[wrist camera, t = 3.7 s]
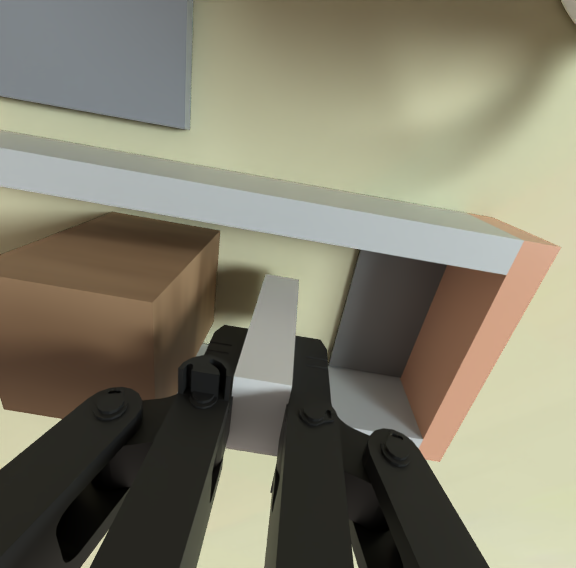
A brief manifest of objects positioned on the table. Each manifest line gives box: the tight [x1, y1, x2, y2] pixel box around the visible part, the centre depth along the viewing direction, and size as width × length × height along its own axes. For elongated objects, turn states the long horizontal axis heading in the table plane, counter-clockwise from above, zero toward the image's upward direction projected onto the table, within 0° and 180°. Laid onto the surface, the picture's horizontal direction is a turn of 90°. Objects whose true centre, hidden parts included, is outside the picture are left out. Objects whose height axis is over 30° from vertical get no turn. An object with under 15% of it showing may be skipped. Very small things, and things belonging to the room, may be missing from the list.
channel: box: [0, 130, 561, 462], centre depth 14 cm, size 10×21×4 cm, turn 81°
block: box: [0, 212, 220, 419], centre depth 12 cm, size 5×5×7 cm
